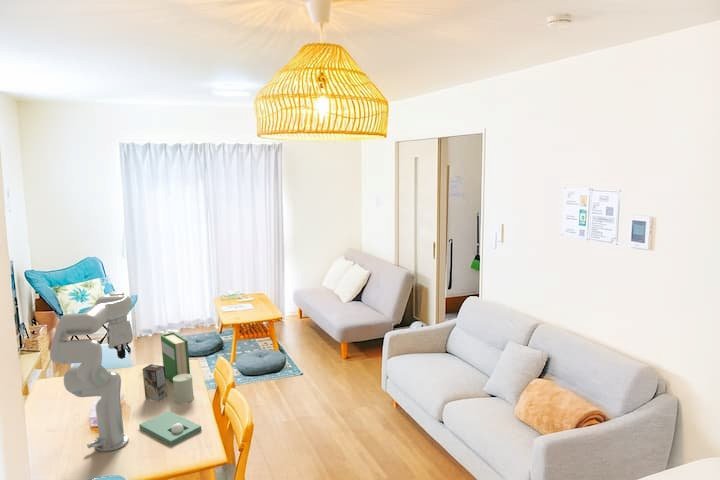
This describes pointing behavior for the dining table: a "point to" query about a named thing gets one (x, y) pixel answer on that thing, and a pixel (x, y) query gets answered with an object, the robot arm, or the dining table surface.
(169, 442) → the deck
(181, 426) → the ball
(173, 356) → the hardback book
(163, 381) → the coffee box
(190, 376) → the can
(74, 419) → the dining table surface
